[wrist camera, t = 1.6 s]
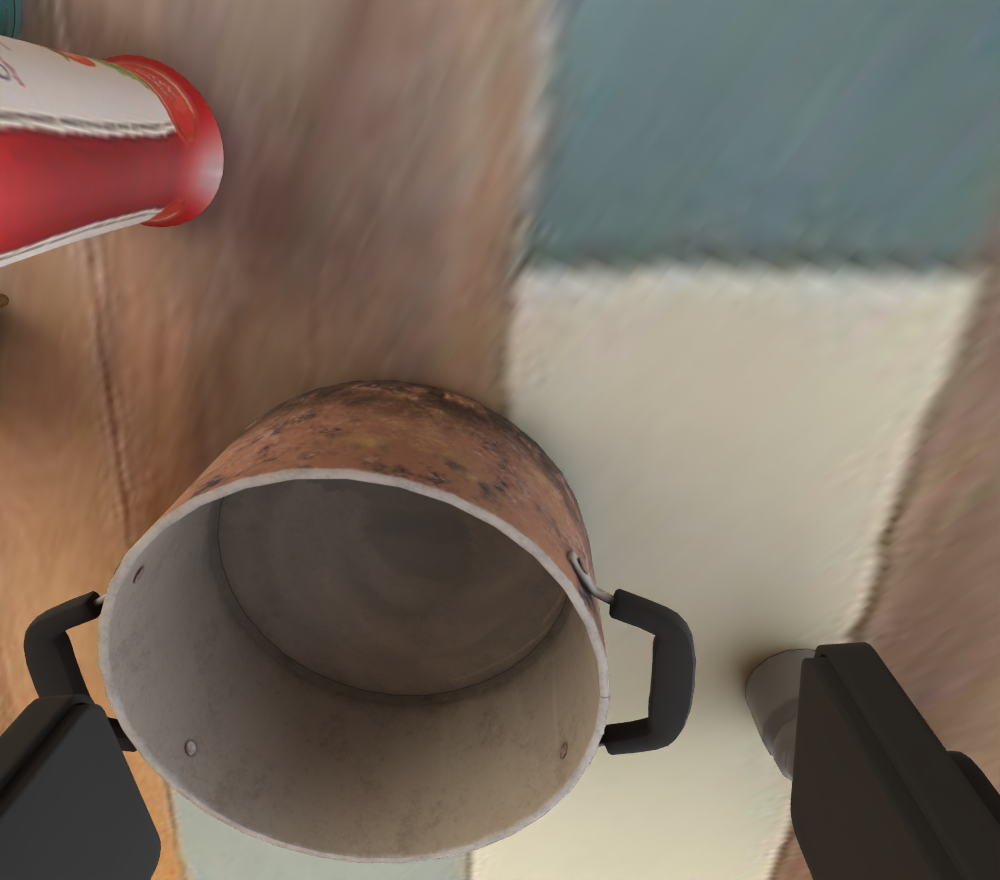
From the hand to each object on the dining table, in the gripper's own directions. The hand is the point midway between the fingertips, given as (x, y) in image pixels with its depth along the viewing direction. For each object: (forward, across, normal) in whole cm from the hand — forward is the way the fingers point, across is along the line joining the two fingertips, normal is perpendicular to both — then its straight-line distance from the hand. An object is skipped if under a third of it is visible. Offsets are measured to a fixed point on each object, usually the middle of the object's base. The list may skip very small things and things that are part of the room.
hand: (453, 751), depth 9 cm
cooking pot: (+27, +8, +14) cm, 31 cm away
